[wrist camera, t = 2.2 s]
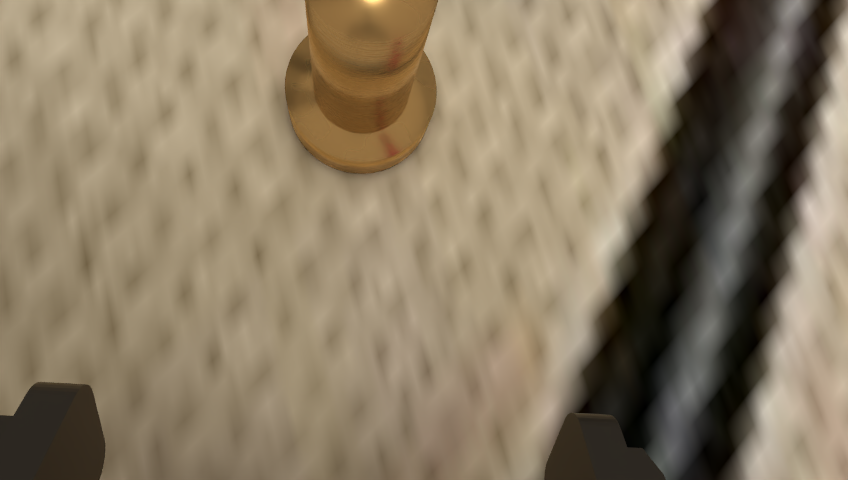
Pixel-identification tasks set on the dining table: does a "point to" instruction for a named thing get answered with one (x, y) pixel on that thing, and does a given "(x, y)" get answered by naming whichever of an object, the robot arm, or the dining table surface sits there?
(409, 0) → the brass knob
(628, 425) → the dining table surface
